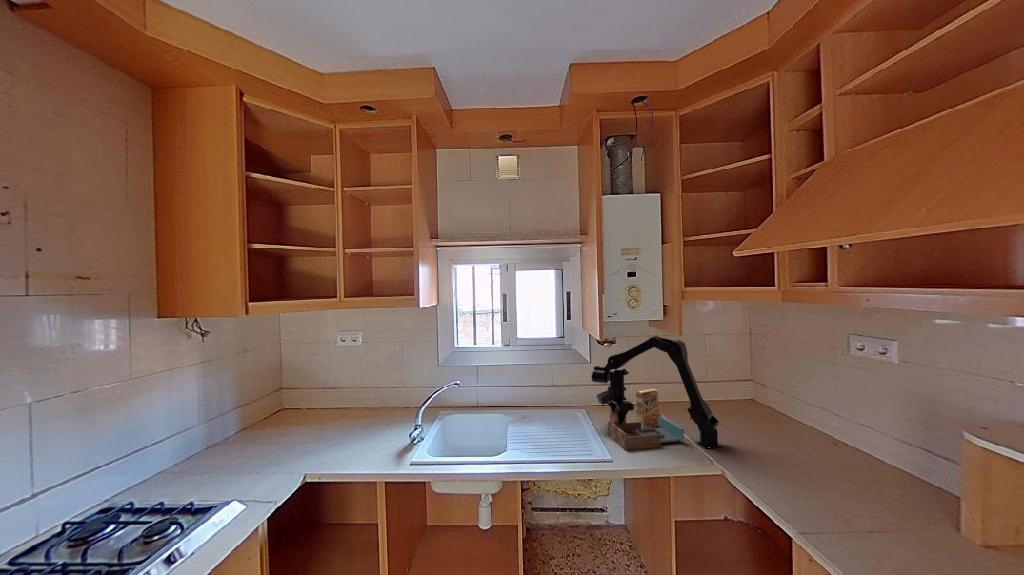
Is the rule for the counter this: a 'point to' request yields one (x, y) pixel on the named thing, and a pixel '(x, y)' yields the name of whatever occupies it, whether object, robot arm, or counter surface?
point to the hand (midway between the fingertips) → (617, 422)
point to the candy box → (647, 408)
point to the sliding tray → (663, 431)
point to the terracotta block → (615, 417)
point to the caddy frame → (632, 436)
